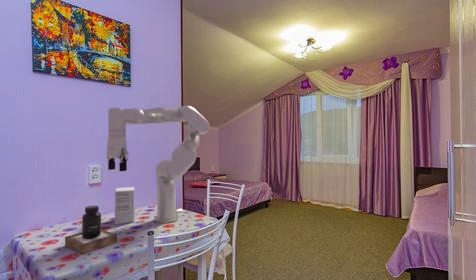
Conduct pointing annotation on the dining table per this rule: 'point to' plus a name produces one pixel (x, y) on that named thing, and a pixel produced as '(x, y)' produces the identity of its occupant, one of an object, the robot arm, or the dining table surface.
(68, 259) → the dining table surface
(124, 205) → the supplement box
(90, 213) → the supplement bottle
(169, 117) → the robot arm
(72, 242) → the dock
